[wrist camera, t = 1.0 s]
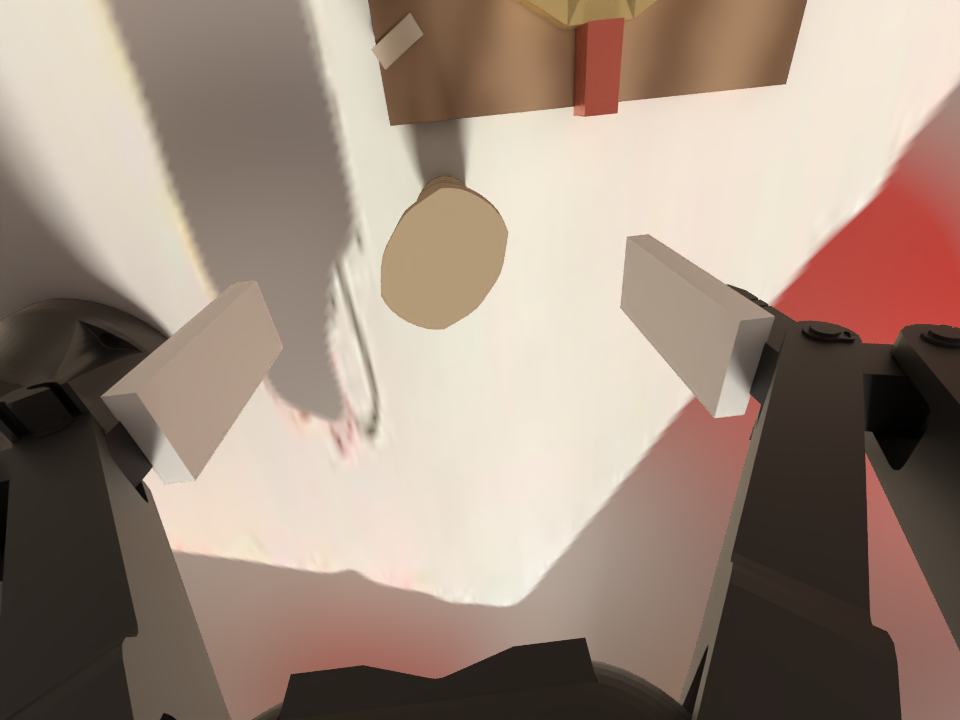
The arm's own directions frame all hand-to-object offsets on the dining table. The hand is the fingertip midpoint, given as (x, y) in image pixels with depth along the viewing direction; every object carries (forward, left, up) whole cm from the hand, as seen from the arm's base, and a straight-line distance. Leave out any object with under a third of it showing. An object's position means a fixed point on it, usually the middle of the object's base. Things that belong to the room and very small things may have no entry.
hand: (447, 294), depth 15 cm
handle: (0, 0, -19) cm, 19 cm away
